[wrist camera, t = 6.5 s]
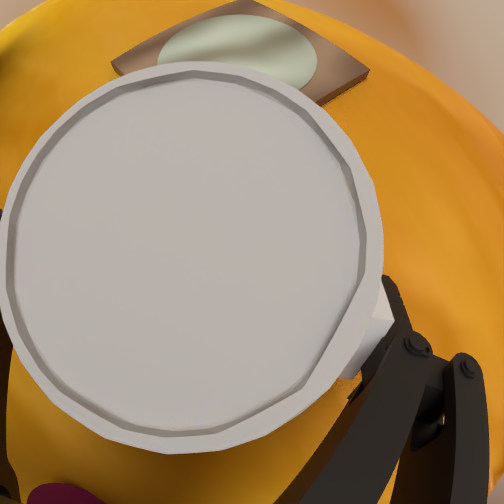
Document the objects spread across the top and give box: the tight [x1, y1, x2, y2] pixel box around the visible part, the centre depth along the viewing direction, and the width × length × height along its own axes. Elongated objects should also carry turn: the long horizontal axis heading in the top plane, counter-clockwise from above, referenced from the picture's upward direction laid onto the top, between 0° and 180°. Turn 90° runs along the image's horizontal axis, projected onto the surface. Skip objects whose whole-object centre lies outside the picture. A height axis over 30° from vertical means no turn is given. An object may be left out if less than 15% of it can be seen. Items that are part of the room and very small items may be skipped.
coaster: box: [111, 0, 370, 106], centre depth 20 cm, size 16×16×1 cm
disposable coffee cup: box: [0, 61, 384, 454], centre depth 11 cm, size 10×10×12 cm
